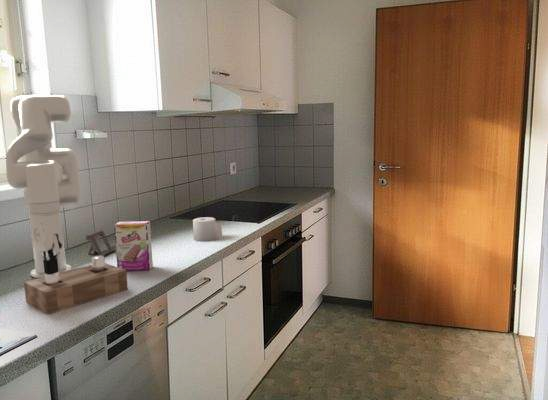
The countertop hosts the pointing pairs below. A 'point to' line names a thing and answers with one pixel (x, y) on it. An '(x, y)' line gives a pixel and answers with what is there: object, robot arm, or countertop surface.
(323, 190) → the countertop surface
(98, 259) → the back peg
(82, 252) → the countertop surface
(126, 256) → the candy bar box
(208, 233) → the toilet tissue
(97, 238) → the portable electronic device stand
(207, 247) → the countertop surface
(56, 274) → the front peg
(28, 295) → the walnut block
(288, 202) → the countertop surface
